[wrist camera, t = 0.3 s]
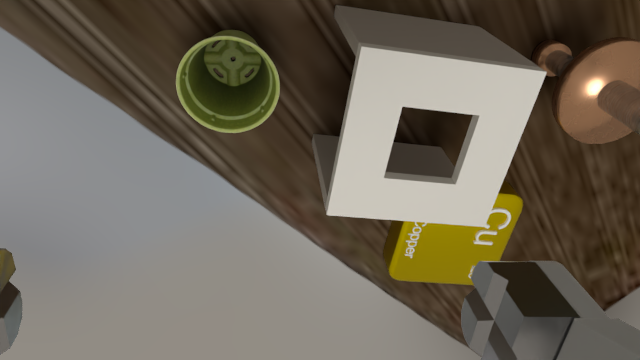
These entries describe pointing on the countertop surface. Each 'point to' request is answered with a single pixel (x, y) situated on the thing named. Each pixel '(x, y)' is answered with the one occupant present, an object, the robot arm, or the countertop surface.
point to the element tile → (450, 244)
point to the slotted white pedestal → (433, 94)
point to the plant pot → (228, 83)
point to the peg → (594, 88)
